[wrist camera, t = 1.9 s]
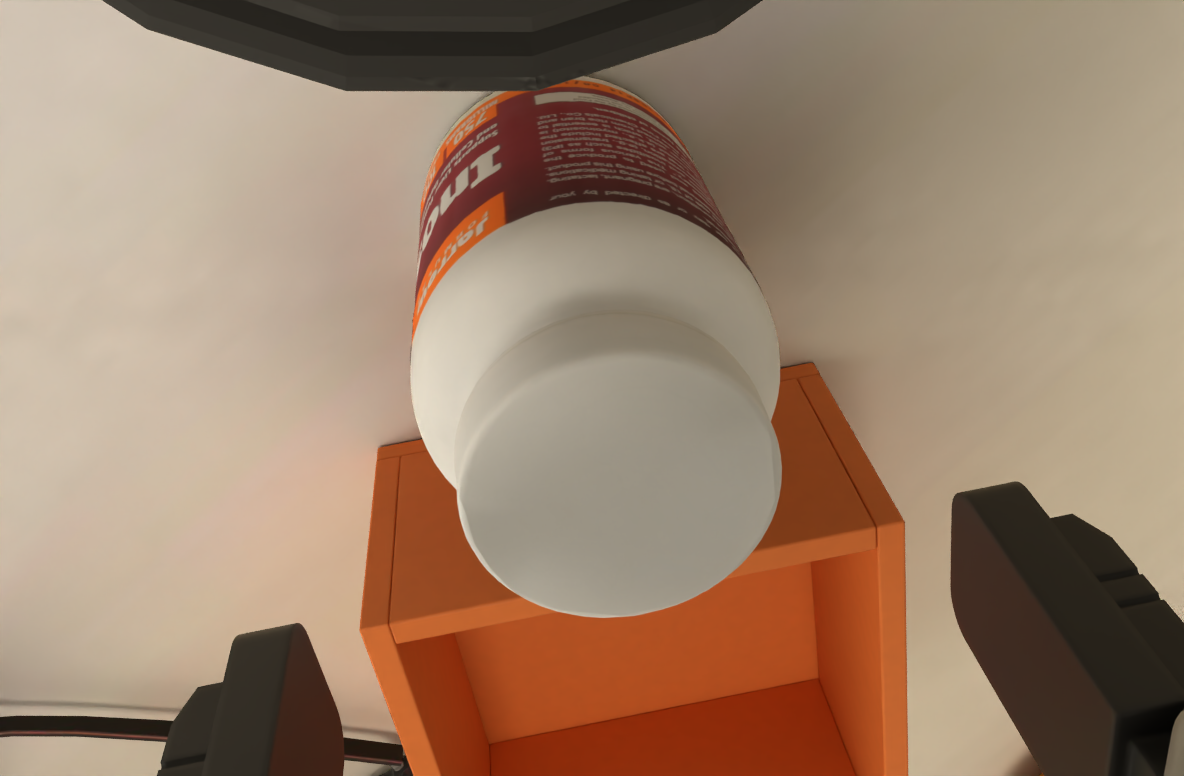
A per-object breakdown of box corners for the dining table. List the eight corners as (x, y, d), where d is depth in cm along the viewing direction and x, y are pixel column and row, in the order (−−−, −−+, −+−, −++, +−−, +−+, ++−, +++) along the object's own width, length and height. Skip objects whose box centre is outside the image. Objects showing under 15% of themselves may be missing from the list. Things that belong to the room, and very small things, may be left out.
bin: (813, 361, 28) (906, 521, 22) (833, 673, 34) (910, 863, 28) (377, 446, 28) (358, 630, 22) (473, 745, 33) (477, 950, 28)
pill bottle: (437, 44, 23) (429, 264, 13) (722, 90, 24) (898, 324, 15) (406, 311, 26) (381, 644, 16) (660, 341, 27) (773, 667, 18)
